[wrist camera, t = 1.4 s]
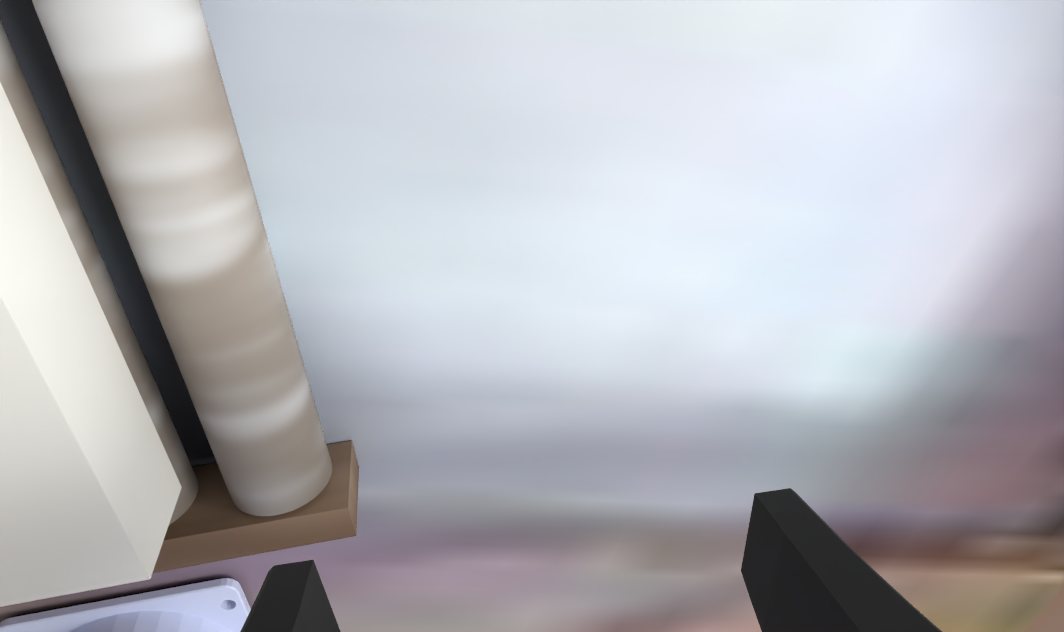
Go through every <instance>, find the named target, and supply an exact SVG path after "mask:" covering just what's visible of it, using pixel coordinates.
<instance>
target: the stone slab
mask: <svg viewBox="0 0 1064 632" xmlns="http://www.w3.org/2000/svg"><path fill="white" fill-rule="evenodd" d="M181 488H182V487H181V485H180V482H179V480H178V478H177V476H176V473H175V471H174V469H173V467H172V464H171V462H170V460H169V458H168V455H167V453H166V451H165V449H164V447H163V444H162V442H161V440H160V438H159V435H158V433H157V431H156V429H155V426H154V424H153V422H152V420H151V418H150V415H149V413H148V411H147V409H146V406H145V404H144V402H143V400H142V397H141V395H140V393H139V391H138V388H137V386H136V384H135V382H134V380H133V377H132V375H131V373H130V371H129V368H128V366H127V364H126V362H125V359H124V357H123V355H122V353H121V350H120V348H119V346H118V344H117V342H116V339H115V337H114V335H113V333H112V330H111V328H110V326H109V324H108V321H107V319H106V317H105V315H104V313H103V310H102V308H101V306H100V304H99V301H98V299H97V297H96V295H95V292H94V290H93V288H92V286H91V283H90V281H89V279H88V277H87V275H86V272H85V270H84V268H83V266H82V263H81V261H80V259H79V257H78V254H77V252H76V250H75V248H74V245H73V243H72V241H71V239H70V237H69V234H68V232H67V230H66V228H65V225H64V223H63V221H62V219H61V216H60V214H59V212H58V210H57V208H56V205H55V203H54V201H53V199H52V196H51V194H50V192H49V190H48V187H47V185H46V183H45V181H44V178H43V176H42V174H41V172H40V170H39V167H38V165H37V163H36V161H35V158H34V156H33V154H32V152H31V149H30V147H29V145H28V143H27V140H26V138H25V136H24V134H23V132H22V129H21V127H20V125H19V123H18V120H17V118H16V116H15V114H14V111H13V109H12V107H11V105H10V103H9V100H8V98H7V96H6V94H5V91H4V89H3V87H2V85H1V82H0V607H2V606H7V605H13V604H18V603H23V602H29V601H34V600H40V599H45V598H51V597H56V596H62V595H67V594H72V593H78V592H83V591H89V590H94V589H100V588H105V587H110V586H116V585H121V584H127V583H132V582H138V581H143V580H149V579H151V576H152V573H153V570H154V567H155V564H156V561H157V558H158V555H159V552H160V549H161V546H162V544H163V541H164V538H165V535H166V532H167V529H168V526H169V523H170V520H171V517H172V514H173V511H174V508H175V505H176V502H177V500H178V497H179V494H180V491H181Z"/></svg>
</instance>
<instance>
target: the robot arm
mask: <svg viewBox="0 0 1064 632" xmlns="http://www.w3.org/2000/svg"><path fill="white" fill-rule="evenodd" d="M741 572H742V575H743V578H744V581H745V584H746V587H747V590H748V593H749V596H750V599H751V602H752V605H753V608H754V610H755V613H756V616H757V619H758V622H759V624H760V627H761V630H762V632H942V631H941V630H940V629H938V628H937V627H936V626H935V625H934V624H933V623H932V622H930V621H929V620H928V619H927V618H926V617H925V616H924V615H922V614H921V613H920V612H919V611H918V610H917V609H916V608H915V607H913V606H912V605H911V604H910V603H909V602H908V601H907V600H906V599H905V598H904V597H903V596H901V595H900V594H899V593H898V592H897V591H896V590H895V589H894V588H893V587H892V586H891V585H890V584H888V583H887V582H886V581H885V580H884V579H883V578H882V577H881V576H880V575H879V574H878V573H877V572H875V571H874V570H873V569H872V568H871V567H870V566H869V565H868V564H867V563H866V562H865V561H864V560H863V559H862V558H861V557H860V556H859V555H858V554H857V553H856V552H855V551H854V550H853V549H852V548H851V547H850V546H849V545H847V544H846V543H845V542H844V541H843V540H842V539H841V538H840V537H839V536H838V535H837V534H836V533H835V532H834V531H833V530H832V529H831V528H830V527H829V526H828V525H827V524H826V523H825V522H824V521H823V520H822V519H821V518H820V517H819V516H818V515H817V514H816V513H815V512H814V511H813V510H812V509H811V508H810V507H809V506H808V505H807V504H806V503H805V502H804V501H803V500H802V498H801V497H800V496H799V495H798V494H797V493H796V492H794V491H793V490H792V489H790V488H789V489H782V490H776V491H769V492H762V493H756V494H755V495H754V501H753V506H752V512H751V517H750V523H749V529H748V534H747V540H746V545H745V551H744V557H743V562H742V568H741ZM0 632H340V630H339V627H338V624H337V622H336V619H335V616H334V614H333V611H332V608H331V606H330V603H329V600H328V598H327V595H326V592H325V590H324V587H323V584H322V582H321V579H320V576H319V574H318V571H317V568H316V566H315V563H314V560H309V561H303V562H296V563H289V564H283V565H276V566H273V567H272V568H271V570H270V571H269V572H268V574H267V576H266V578H265V581H264V583H263V585H262V587H261V589H260V592H259V594H258V596H257V598H256V600H255V602H254V604H253V606H252V609H250V606H249V604H248V602H247V599H246V597H245V595H244V592H243V590H242V588H241V585H240V584H239V583H238V582H237V581H236V580H234V579H230V578H222V579H216V580H211V581H205V582H200V583H195V584H189V585H184V586H179V587H173V588H168V589H162V590H157V591H152V592H146V593H141V594H136V595H130V596H125V597H119V598H114V599H109V600H103V601H98V602H92V603H87V604H82V605H76V606H71V607H66V608H60V609H55V610H49V611H44V612H39V613H33V614H28V615H23V616H17V617H12V618H8V619H5V620H3V621H2V622H1V623H0Z"/></svg>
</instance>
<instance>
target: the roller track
mask: <svg viewBox="0 0 1064 632" xmlns="http://www.w3.org/2000/svg"><path fill="white" fill-rule="evenodd" d="M32 3H33V5H34V8H35V10H36V12H37V15H38V17H39V20H40V22H41V25H42V27H43V30H44V32H45V35H46V37H47V40H48V42H49V45H50V47H51V50H52V52H53V55H54V57H55V60H56V62H57V65H58V67H59V70H60V72H61V75H62V77H63V80H64V82H65V85H66V87H67V90H68V92H69V95H70V97H71V100H72V102H73V105H74V107H75V110H76V112H77V115H78V117H79V120H80V122H81V125H82V127H83V130H84V132H85V135H86V137H87V140H88V142H89V145H90V147H91V150H92V152H93V155H94V157H95V160H96V162H97V165H98V167H99V170H100V172H101V175H102V177H103V180H104V182H105V185H106V187H107V190H108V192H109V195H110V197H111V200H112V202H113V204H114V207H115V209H116V212H117V214H118V217H119V219H120V222H121V224H122V227H123V229H124V232H125V234H126V237H127V239H128V242H129V244H130V247H131V249H132V252H133V254H134V257H135V259H136V262H137V264H138V267H139V269H140V272H141V274H142V277H143V279H144V282H145V284H146V287H147V289H148V292H149V294H150V297H151V299H152V302H153V304H154V307H155V309H156V312H157V314H158V317H159V319H160V322H161V324H162V327H163V329H164V332H165V334H166V337H167V339H168V342H169V344H170V347H171V349H172V352H173V354H174V357H175V359H176V362H177V364H178V367H179V369H180V372H181V374H182V377H183V379H184V382H185V384H186V387H187V389H188V392H189V394H190V396H191V399H192V401H193V404H194V406H195V409H196V411H197V414H198V416H199V419H200V421H201V424H202V426H203V429H204V431H205V434H206V436H207V439H208V441H209V444H210V446H211V449H212V451H213V454H214V456H215V459H216V461H217V463H213V464H207V465H201V466H195V467H192V466H191V464H190V461H189V459H188V457H187V454H186V452H185V450H184V447H183V445H182V443H181V440H180V438H179V436H178V433H177V431H176V429H175V426H174V424H173V422H172V419H171V417H170V415H169V412H168V410H167V408H166V405H165V403H164V401H163V398H162V396H161V394H160V391H159V389H158V387H157V384H156V382H155V380H154V377H153V375H152V373H151V370H150V368H149V366H148V363H147V361H146V359H145V356H144V354H143V352H142V349H141V347H140V345H139V342H138V340H137V338H136V335H135V333H134V330H133V328H132V326H131V323H130V321H129V319H128V316H127V314H126V312H125V309H124V307H123V305H122V302H121V300H120V298H119V295H118V293H117V291H116V288H115V286H114V284H113V281H112V279H111V277H110V274H109V272H108V270H107V267H106V265H105V263H104V260H103V258H102V256H101V253H100V251H99V249H98V246H97V244H96V242H95V239H94V237H93V235H92V232H91V230H90V228H89V225H88V223H87V221H86V218H85V216H84V214H83V211H82V209H81V207H80V204H79V202H78V200H77V197H76V195H75V193H74V190H73V188H72V186H71V183H70V181H69V179H68V176H67V174H66V172H65V169H64V167H63V165H62V162H61V160H60V158H59V155H58V153H57V151H56V148H55V146H54V144H53V141H52V139H51V137H50V134H49V132H48V130H47V127H46V125H45V123H44V120H43V118H42V116H41V113H40V111H39V109H38V106H37V104H36V102H35V99H34V97H33V95H32V92H31V90H30V88H29V85H28V83H27V81H26V78H25V76H24V74H23V71H22V69H21V67H20V64H19V62H18V60H17V57H16V55H15V53H14V50H13V48H12V46H11V43H10V41H9V39H8V36H7V34H6V32H5V29H4V27H3V25H2V22H1V20H0V82H1V85H2V87H3V89H4V91H5V94H6V96H7V98H8V100H9V103H10V105H11V107H12V109H13V111H14V114H15V116H16V118H17V120H18V123H19V125H20V127H21V129H22V132H23V134H24V136H25V138H26V140H27V143H28V145H29V147H30V149H31V152H32V154H33V156H34V158H35V161H36V163H37V165H38V167H39V170H40V172H41V174H42V176H43V178H44V181H45V183H46V185H47V187H48V190H49V192H50V194H51V196H52V199H53V201H54V203H55V205H56V208H57V210H58V212H59V214H60V216H61V219H62V221H63V223H64V225H65V228H66V230H67V232H68V234H69V237H70V239H71V241H72V243H73V245H74V248H75V250H76V252H77V254H78V257H79V259H80V261H81V263H82V266H83V268H84V270H85V272H86V275H87V277H88V279H89V281H90V283H91V286H92V288H93V290H94V292H95V295H96V297H97V299H98V301H99V304H100V306H101V308H102V310H103V313H104V315H105V317H106V319H107V321H108V324H109V326H110V328H111V330H112V333H113V335H114V337H115V339H116V342H117V344H118V346H119V348H120V350H121V353H122V355H123V357H124V359H125V362H126V364H127V366H128V368H129V371H130V373H131V375H132V377H133V380H134V382H135V384H136V386H137V388H138V391H139V393H140V395H141V397H142V400H143V402H144V404H145V406H146V409H147V411H148V413H149V415H150V418H151V420H152V422H153V424H154V426H155V429H156V431H157V433H158V435H159V438H160V440H161V442H162V444H163V447H164V449H165V451H166V453H167V455H168V458H169V460H170V462H171V464H172V467H173V469H174V471H175V473H176V476H177V478H178V480H179V482H180V485H181V487H182V488H181V491H180V494H179V497H178V500H177V502H176V505H175V508H174V511H173V514H172V517H171V520H170V523H169V526H168V529H167V532H166V535H165V538H164V541H163V544H162V546H161V549H160V552H159V555H158V558H157V561H156V564H155V567H154V570H153V573H155V572H161V571H166V570H172V569H177V568H183V567H188V566H194V565H199V564H205V563H210V562H215V561H221V560H226V559H232V558H237V557H243V556H248V555H254V554H259V553H265V552H270V551H276V550H281V549H287V548H292V547H297V546H303V545H308V544H314V543H319V542H325V541H330V540H336V539H341V538H347V537H352V536H356V524H357V500H358V476H359V466H358V462H357V458H356V454H355V451H354V447H353V443H352V441H346V442H340V443H334V444H328V445H326V441H325V438H324V434H323V431H322V427H321V424H320V420H319V417H318V413H317V410H316V406H315V403H314V399H313V396H312V392H311V389H310V385H309V382H308V378H307V375H306V371H305V368H304V364H303V361H302V357H301V354H300V350H299V347H298V343H297V340H296V336H295V333H294V329H293V326H292V322H291V319H290V315H289V312H288V308H287V305H286V301H285V298H284V294H283V291H282V287H281V284H280V280H279V277H278V273H277V270H276V266H275V263H274V259H273V256H272V252H271V249H270V245H269V242H268V238H267V235H266V231H265V228H264V224H263V221H262V217H261V214H260V210H259V207H258V203H257V200H256V196H255V193H254V189H253V186H252V182H251V179H250V175H249V172H248V168H247V165H246V161H245V158H244V154H243V151H242V147H241V144H240V140H239V137H238V133H237V130H236V126H235V123H234V119H233V116H232V112H231V109H230V105H229V102H228V98H227V95H226V91H225V88H224V84H223V81H222V77H221V74H220V70H219V67H218V63H217V60H216V56H215V53H214V49H213V46H212V42H211V39H210V35H209V32H208V28H207V25H206V21H205V18H204V14H203V11H202V7H201V4H200V0H32Z"/></svg>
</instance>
